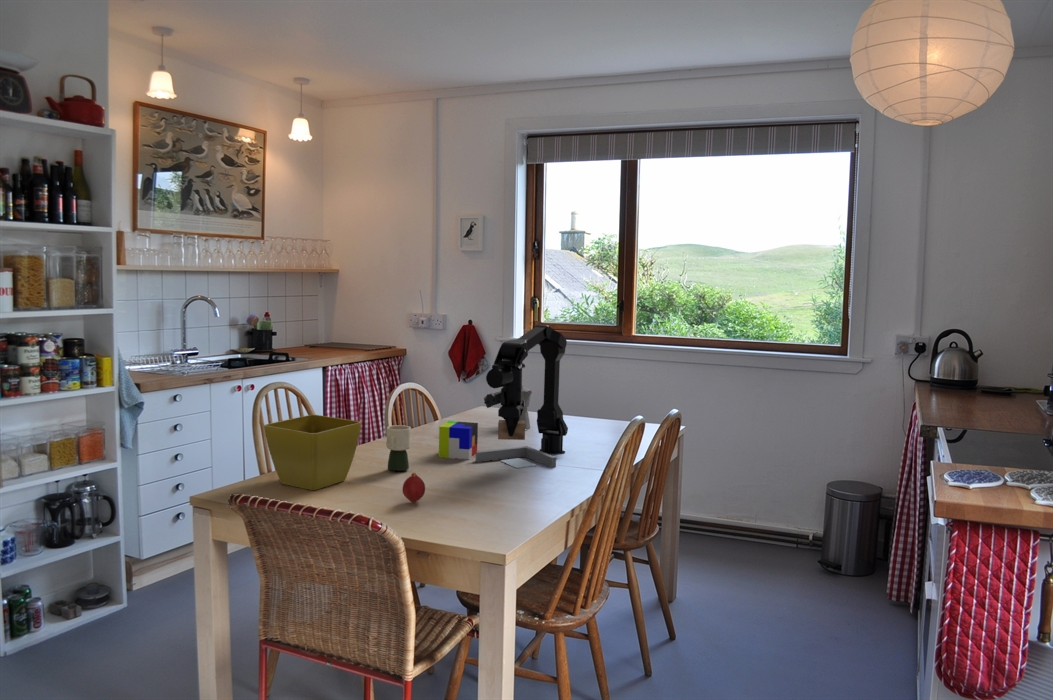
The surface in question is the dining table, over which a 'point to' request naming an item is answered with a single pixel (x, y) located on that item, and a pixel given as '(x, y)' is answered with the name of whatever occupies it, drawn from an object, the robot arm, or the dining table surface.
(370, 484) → the dining table surface
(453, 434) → the puzzle toy
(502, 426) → the walnut block
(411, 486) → the onion
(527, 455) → the grey angle bracket
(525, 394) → the coffeepot
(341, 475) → the flower pot
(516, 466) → the mat
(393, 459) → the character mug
